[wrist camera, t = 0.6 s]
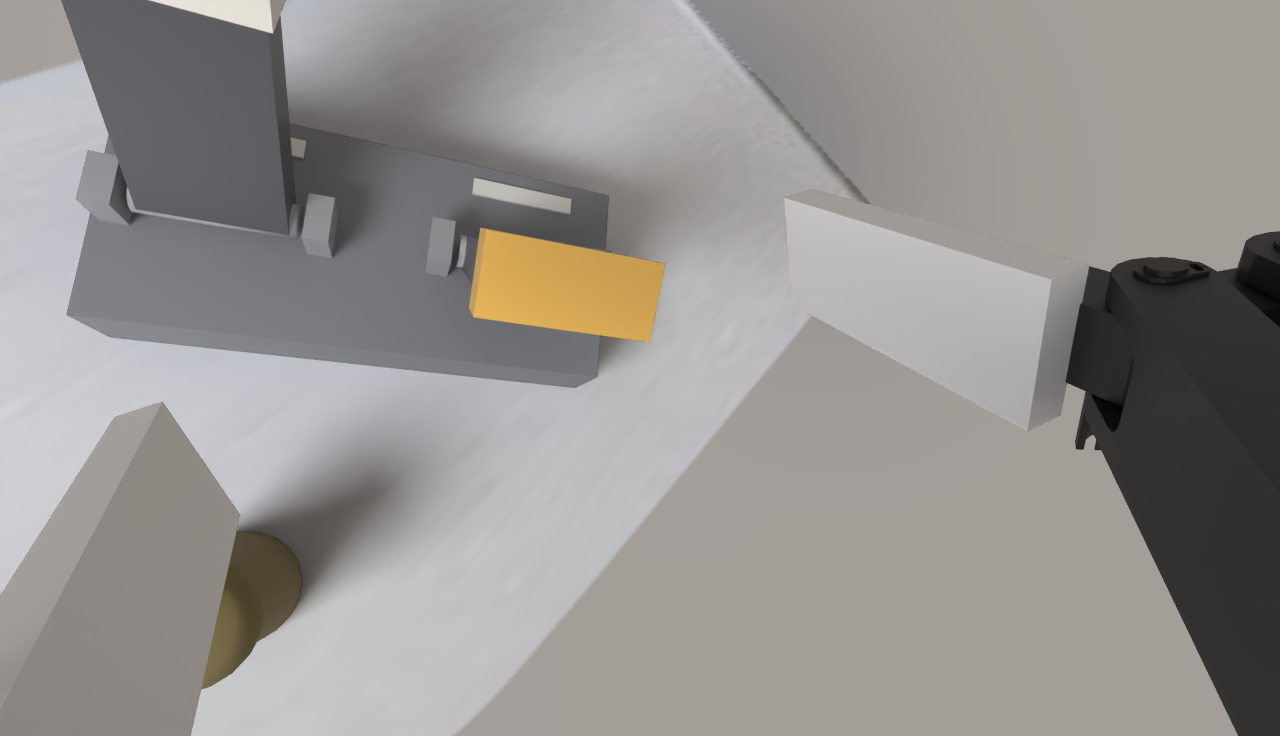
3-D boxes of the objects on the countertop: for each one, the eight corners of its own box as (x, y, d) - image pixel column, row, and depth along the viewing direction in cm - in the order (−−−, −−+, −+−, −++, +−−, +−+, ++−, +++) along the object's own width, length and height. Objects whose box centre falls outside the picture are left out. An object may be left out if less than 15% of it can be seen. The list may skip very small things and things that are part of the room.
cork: (152, 638, 32) (47, 709, 22) (198, 520, 34) (119, 538, 24) (279, 655, 34) (235, 728, 24) (317, 543, 36) (290, 568, 26)
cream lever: (294, 257, 32) (266, -34, 21) (128, 230, 30) (-3, -116, 19) (305, 213, 34) (285, -78, 23) (149, 184, 31) (41, -158, 20)
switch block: (109, 337, 34) (39, 300, 27) (154, 135, 36) (99, 54, 29) (574, 387, 43) (610, 370, 36) (586, 224, 45) (622, 178, 38)
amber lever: (570, 296, 39) (650, 342, 25) (454, 277, 36) (473, 317, 23) (579, 244, 38) (665, 263, 25) (461, 221, 36) (486, 229, 22)
